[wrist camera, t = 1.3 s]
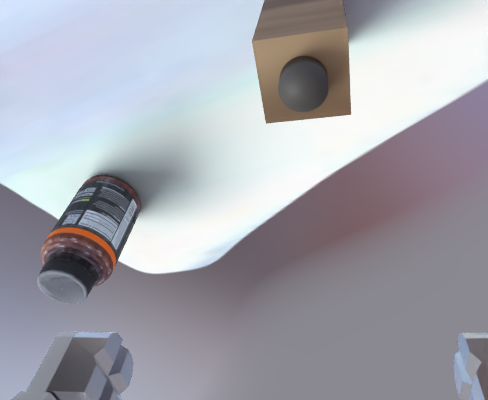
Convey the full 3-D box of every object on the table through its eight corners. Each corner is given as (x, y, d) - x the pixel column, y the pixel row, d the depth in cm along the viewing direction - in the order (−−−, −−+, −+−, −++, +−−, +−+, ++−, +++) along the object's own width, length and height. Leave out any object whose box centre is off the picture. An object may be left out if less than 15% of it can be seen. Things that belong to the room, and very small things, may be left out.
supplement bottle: (118, 229, 45) (71, 321, 36) (70, 192, 42) (8, 282, 34) (155, 203, 42) (113, 296, 33) (106, 162, 39) (48, 251, 31)
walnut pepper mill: (268, -12, 29) (249, 50, 20) (338, -24, 28) (349, 36, 19) (277, 54, 31) (264, 134, 23) (341, 46, 30) (352, 126, 22)
